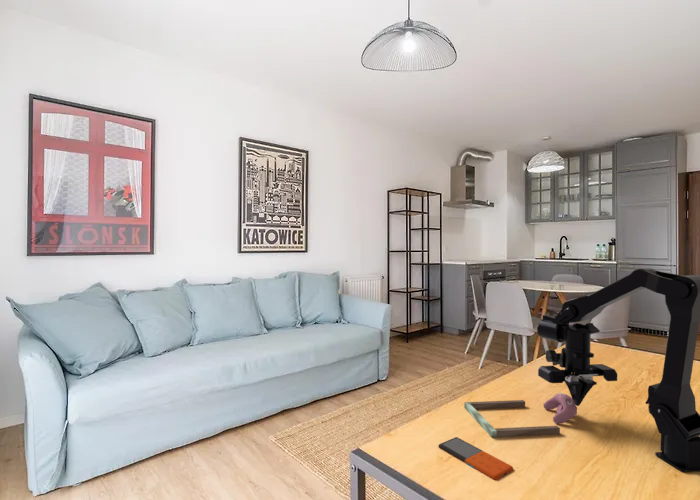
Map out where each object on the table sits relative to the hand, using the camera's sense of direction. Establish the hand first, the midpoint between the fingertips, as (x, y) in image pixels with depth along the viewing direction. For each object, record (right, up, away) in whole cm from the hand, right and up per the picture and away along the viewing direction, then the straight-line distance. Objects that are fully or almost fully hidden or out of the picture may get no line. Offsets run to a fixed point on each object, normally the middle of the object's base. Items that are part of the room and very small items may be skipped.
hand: (576, 405), depth 103 cm
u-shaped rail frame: (-18, -3, -2) cm, 19 cm away
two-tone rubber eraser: (-34, -4, -19) cm, 39 cm away
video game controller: (-5, -3, 0) cm, 6 cm away
